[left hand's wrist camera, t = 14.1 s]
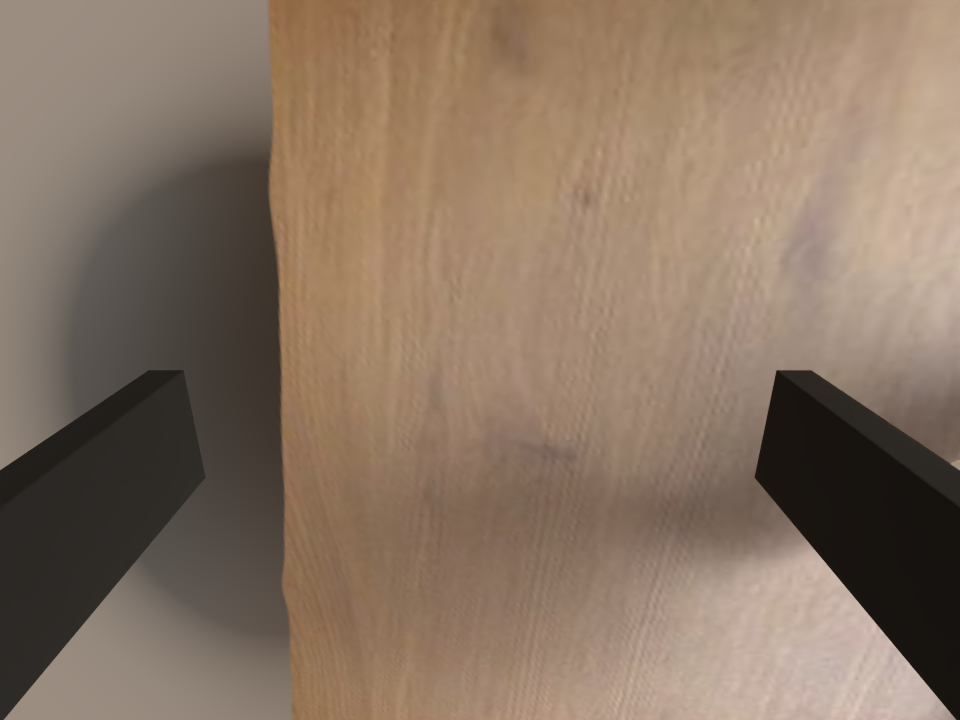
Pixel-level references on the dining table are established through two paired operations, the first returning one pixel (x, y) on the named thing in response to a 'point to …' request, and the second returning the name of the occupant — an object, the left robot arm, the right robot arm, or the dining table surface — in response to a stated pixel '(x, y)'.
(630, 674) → the dining table surface
